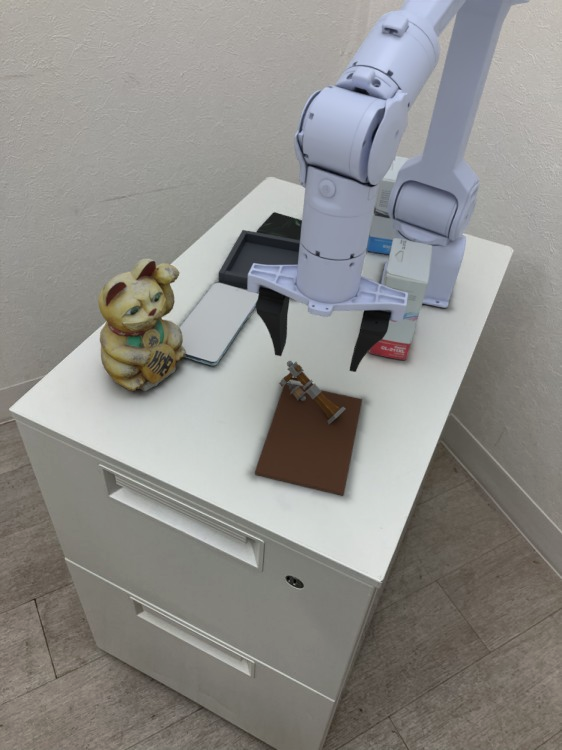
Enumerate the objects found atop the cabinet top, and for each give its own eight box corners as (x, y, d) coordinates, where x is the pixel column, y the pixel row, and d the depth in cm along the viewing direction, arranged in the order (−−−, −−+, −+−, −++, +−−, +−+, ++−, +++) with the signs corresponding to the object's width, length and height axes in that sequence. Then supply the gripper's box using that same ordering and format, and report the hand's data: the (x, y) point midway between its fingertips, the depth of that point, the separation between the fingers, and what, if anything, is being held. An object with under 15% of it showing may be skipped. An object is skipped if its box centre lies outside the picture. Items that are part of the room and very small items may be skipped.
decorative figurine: (139, 410, 62) (121, 300, 52) (85, 378, 65) (57, 267, 55) (196, 361, 68) (190, 253, 58) (144, 333, 71) (129, 226, 61)
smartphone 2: (348, 259, 84) (255, 230, 87) (347, 264, 85) (255, 236, 88) (362, 237, 89) (273, 210, 92) (361, 242, 89) (273, 216, 93)
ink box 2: (406, 362, 71) (429, 283, 62) (366, 353, 71) (385, 274, 63) (412, 319, 77) (434, 243, 68) (375, 312, 77) (393, 235, 69)
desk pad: (361, 401, 65) (362, 398, 65) (343, 495, 56) (343, 493, 56) (284, 385, 67) (285, 382, 66) (254, 474, 57) (254, 471, 57)
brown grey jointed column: (280, 372, 66) (295, 353, 62) (328, 423, 65) (346, 407, 62) (270, 380, 65) (285, 362, 61) (318, 433, 64) (337, 417, 60)
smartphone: (162, 348, 69) (215, 280, 79) (162, 351, 69) (215, 284, 79) (215, 364, 67) (262, 294, 77) (215, 368, 68) (262, 297, 78)
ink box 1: (397, 256, 87) (415, 183, 79) (365, 251, 88) (379, 178, 79) (400, 228, 93) (417, 157, 85) (370, 223, 94) (384, 152, 85)
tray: (310, 253, 86) (311, 242, 85) (293, 298, 78) (294, 287, 77) (242, 240, 88) (242, 229, 86) (218, 283, 80) (218, 272, 78)
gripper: (238, 250, 47) (237, 368, 57) (415, 284, 45) (383, 400, 55) (260, 209, 52) (256, 324, 62) (421, 238, 50) (390, 352, 60)
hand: (316, 357), depth 59 cm, fingers open, 7 cm apart
